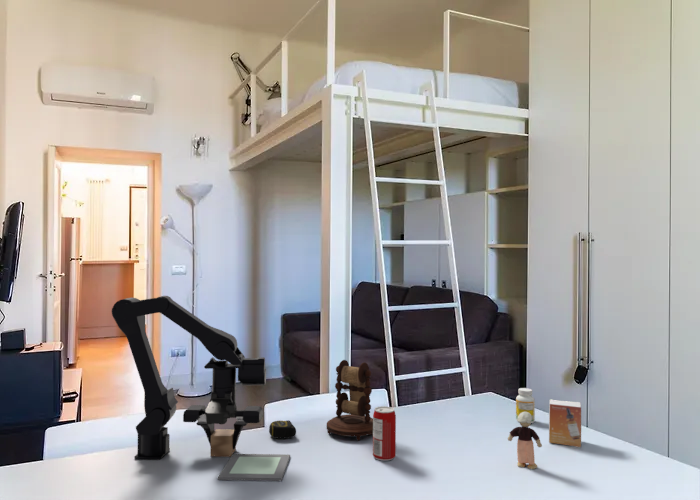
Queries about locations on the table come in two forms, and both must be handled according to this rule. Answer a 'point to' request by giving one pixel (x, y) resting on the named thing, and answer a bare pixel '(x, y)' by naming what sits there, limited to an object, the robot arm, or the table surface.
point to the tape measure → (282, 429)
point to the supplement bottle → (525, 403)
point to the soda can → (384, 433)
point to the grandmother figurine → (525, 441)
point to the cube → (222, 443)
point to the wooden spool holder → (352, 402)
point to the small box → (565, 423)
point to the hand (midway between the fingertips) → (223, 448)
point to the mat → (255, 467)
